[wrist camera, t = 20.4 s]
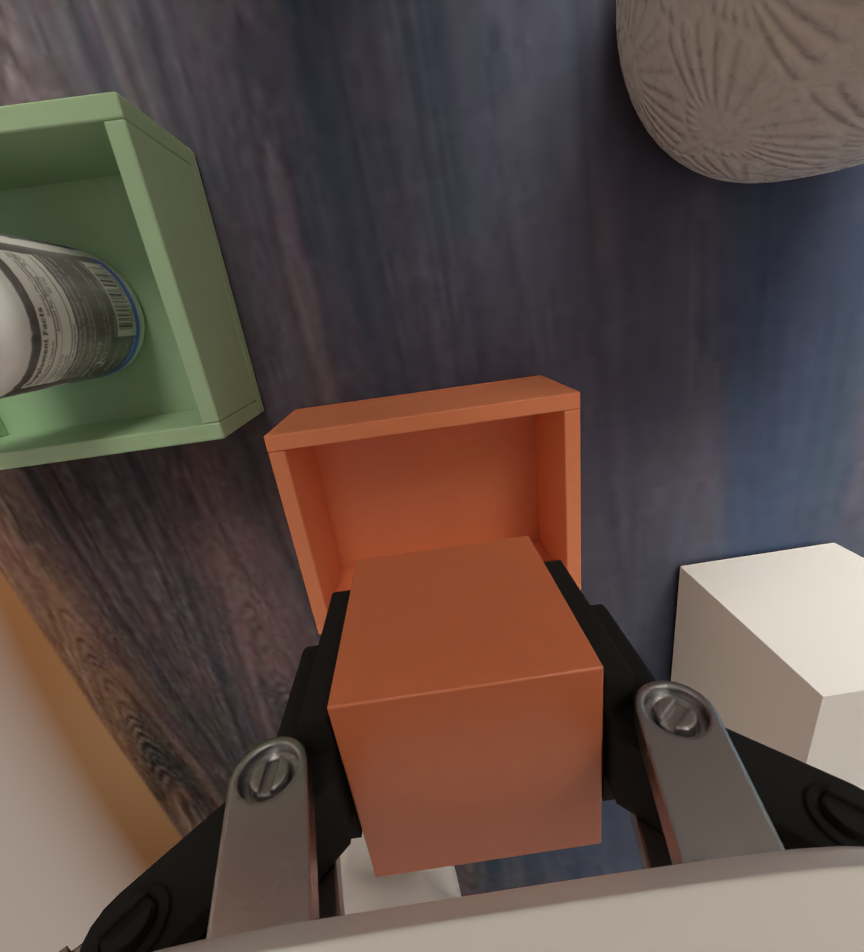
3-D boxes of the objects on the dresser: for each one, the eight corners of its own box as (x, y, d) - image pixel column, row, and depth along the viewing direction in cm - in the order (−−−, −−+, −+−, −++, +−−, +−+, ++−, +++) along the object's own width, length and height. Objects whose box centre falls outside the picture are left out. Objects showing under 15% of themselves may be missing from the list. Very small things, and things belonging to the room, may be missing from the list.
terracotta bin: (294, 409, 19) (262, 436, 15) (541, 374, 19) (580, 391, 15) (335, 573, 22) (318, 635, 18) (547, 542, 22) (581, 596, 18)
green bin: (-113, 192, 16) (-310, 146, 11) (194, 151, 16) (114, 90, 11) (14, 446, 19) (-100, 484, 15) (265, 411, 19) (224, 439, 15)
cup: (456, 871, 32) (481, 1142, 21) (282, 869, 30) (219, 1156, 20) (486, 751, 27) (537, 1016, 17) (286, 742, 26) (209, 1024, 16)
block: (355, 559, 11) (325, 708, 7) (528, 534, 11) (604, 667, 7) (384, 691, 13) (375, 879, 8) (536, 669, 13) (602, 844, 8)
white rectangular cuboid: (664, 757, 29) (764, 927, 21) (680, 566, 23) (823, 696, 15) (789, 738, 29) (937, 900, 21) (834, 542, 23) (1056, 660, 15)
